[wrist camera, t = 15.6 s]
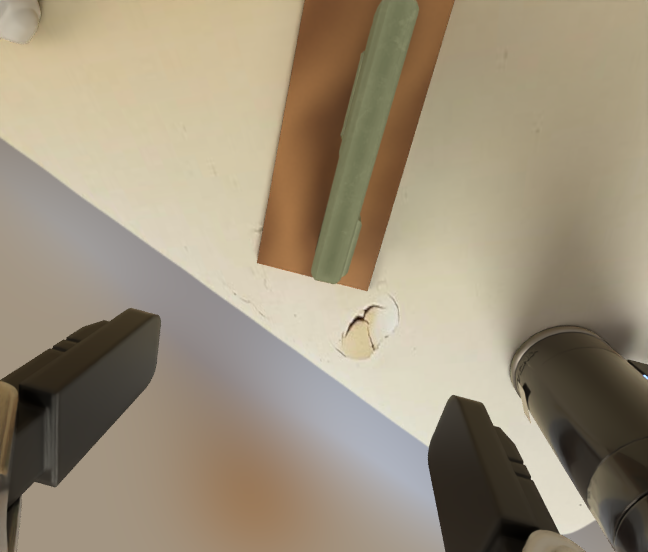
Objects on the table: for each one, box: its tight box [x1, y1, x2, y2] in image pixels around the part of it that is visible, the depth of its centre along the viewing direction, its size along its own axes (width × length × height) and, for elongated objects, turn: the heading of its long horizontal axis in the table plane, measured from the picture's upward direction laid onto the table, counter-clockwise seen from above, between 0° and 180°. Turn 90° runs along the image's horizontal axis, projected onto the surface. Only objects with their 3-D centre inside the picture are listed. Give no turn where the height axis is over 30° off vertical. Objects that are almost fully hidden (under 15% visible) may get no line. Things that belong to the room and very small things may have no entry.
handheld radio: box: [311, 0, 419, 284], centre depth 29 cm, size 7×3×25 cm
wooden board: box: [257, 0, 454, 291], centre depth 32 cm, size 11×30×1 cm, turn 167°
